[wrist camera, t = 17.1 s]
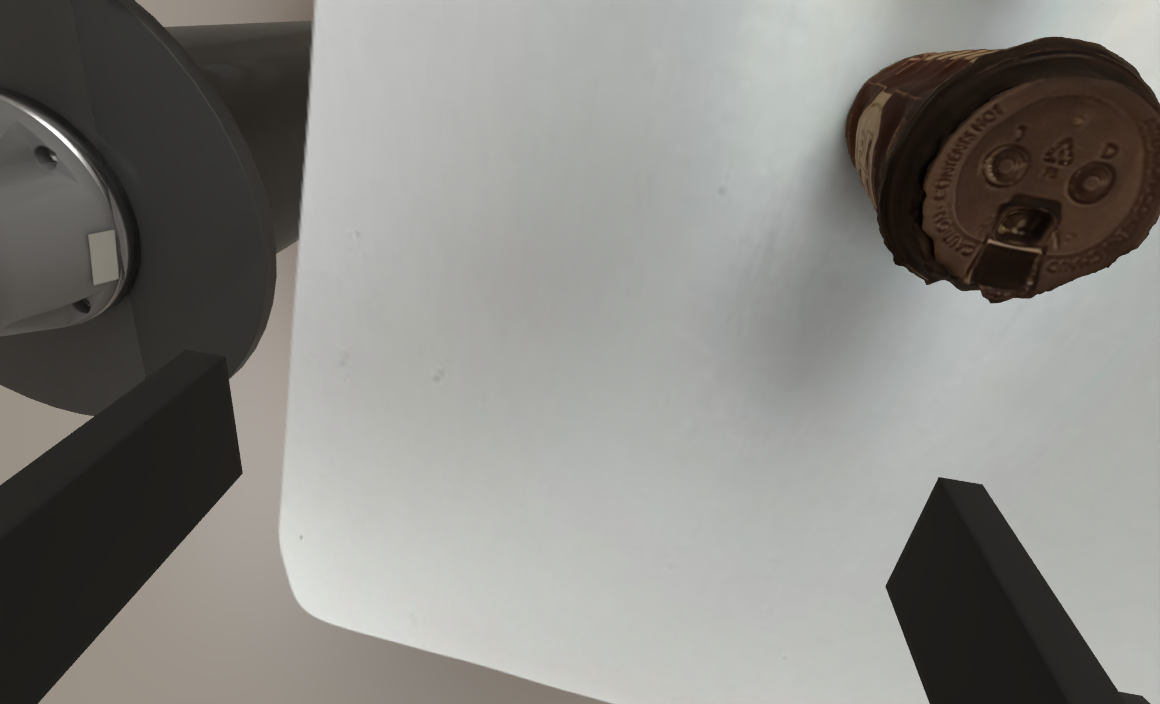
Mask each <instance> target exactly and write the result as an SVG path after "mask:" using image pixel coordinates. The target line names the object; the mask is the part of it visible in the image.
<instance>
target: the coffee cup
mask: <svg viewBox="0 0 1160 704" xmlns="http://www.w3.org/2000/svg"><path fill="white" fill-rule="evenodd" d="M845 137H846V142H847V147H848V151H849V154H850V158H851V161H852V163H853V165H854V166H855V168H856V169H857V172H858V175H859V179H860V181H861V184H862V186H863V187H864V189H865V191H866V192H867V195H868V197H869V198H870V200H871V201H872V203H873V206H874V208H875V210H876V212H877V220H878V224H879V231H880V233H881V235H882V237H883V239H884V244H885V245H886V247H887V248H888V250H889V251H890V252H891V253H892V254H893V261H894V263H895V264H896V265H898V266H904V267H906V268H907V269H908V270H909V272H911V273H914V274H915V275H917V276H918V277H920V278H922V279H924V281H925V283H926V285H930V284H932V283H934V282H937V281H940V280H947V281H949V282H950V283H952V284H953V285H954V286H955V287H956V288H957V289H959V290H961V291H970V290H980V291H981V293H982V296H983V297H984V298H986V299H988V300H989V302H990V303H1001V302H1004V301H1007V300H1009V299H1012V298H1032V297H1034V296H1035V295H1037V294H1042V293H1044V292H1045V291H1047V292H1048V291H1052V290H1053V289H1055V288H1057V287H1059V286H1061V285H1063V284H1066V283H1068V282H1070V281H1073V280H1075V279H1077V278H1079V277H1082V276H1085V275H1089V274H1091V273H1095V272H1097V271H1099V270H1102V269H1104V268H1109V266H1110V265H1111V264H1112V263H1114V262H1115V261H1116V260H1117V258H1119V257H1120V256H1122V255H1125V254H1128V253H1129V252H1130V251H1132V250H1134V249H1136V248H1138V247H1139V246H1140V244H1141V243H1142V242H1143V241H1144V240H1145V239H1146V237H1147V236H1148V235H1149V231H1150V229H1151V228H1152V226H1153V225H1155V224H1156V222H1157V220H1158V218H1159V215H1160V104H1159V102H1158V100H1157V98H1156V96H1155V94H1154V92H1153V91H1152V89H1151V88H1150V87H1149V86H1148V85H1147V84H1146V83H1145V82H1144V80H1143V79H1142V78H1141V76H1140V74H1139V72H1138V71H1137V69H1136V68H1135V67H1134V66H1132V65H1131V64H1130V63H1128V62H1127V61H1126V60H1124V59H1123V58H1121V57H1119V56H1118V55H1117V54H1115V53H1113V52H1111V51H1109V50H1107V49H1106V48H1105V47H1103V46H1102V45H1100V44H1097V43H1092V42H1087V41H1082V40H1079V39H1072V38H1064V37H1044V38H1040V39H1036V40H1034V41H1031V42H1027V43H1024V44H1021V45H1018V46H1014V47H1011V48H1008V49H997V50H986V49H980V50H963V51H950V52H942V53H925V54H921V55H915V56H912V57H908V58H905V59H903V60H901V61H898V62H896V63H894V64H892V65H890V66H888V67H886V68H884V69H883V70H881V71H880V72H879V73H877V74H876V75H874V76H873V77H872V78H870V79H869V80H868V81H867V82H866V83H865V84H864V86H863V87H862V88H861V90H860V91H859V93H858V95H857V97H856V99H855V101H854V103H853V105H852V107H851V109H850V111H849V114H848V117H847V121H846V132H845Z"/></svg>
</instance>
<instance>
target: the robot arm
mask: <svg viewBox="0 0 1160 704" xmlns="http://www.w3.org/2000/svg"><path fill="white" fill-rule="evenodd" d="M139 263H140V238H139V231H138V227H137V222H136V218H135V215H134V212H133V209H132V206H131V204H130V201H129V199H128V197H127V195H126V193H125V191H124V189H123V187H122V185H121V183H120V181H119V179H118V178H117V176H116V174H115V173H114V171H113V170H112V168H111V167H110V165H109V164H108V163H107V161H106V160H105V159H104V157H103V156H102V155H101V154H100V152H99V151H98V150H97V149H96V148H95V147H94V145H93V144H92V143H91V142H90V141H89V140H88V139H87V138H86V137H85V136H84V135H83V134H82V133H81V132H80V131H79V130H78V129H77V128H75V127H74V126H73V125H72V124H71V123H69V122H68V121H67V120H66V119H64V118H63V117H62V116H60V115H59V114H58V113H56V112H55V111H53V110H52V109H50V108H48V107H47V106H45V105H44V104H42V103H40V102H38V101H36V100H34V99H32V98H30V97H28V96H26V95H23V94H21V93H19V92H16V91H13V90H10V89H6V88H2V87H0V337H1V336H8V335H15V334H21V333H28V332H35V331H42V330H49V329H56V328H63V327H67V326H72V325H76V324H80V323H83V322H85V321H88V320H90V319H92V318H94V317H96V316H98V315H100V314H101V313H103V312H105V311H107V310H109V309H110V308H112V307H114V306H115V305H117V304H118V303H119V302H120V301H121V300H122V299H123V298H124V297H125V296H126V295H127V294H128V292H129V291H130V289H131V288H132V285H133V283H134V281H135V279H136V276H137V273H138V268H139ZM241 474H242V466H241V460H240V452H239V446H238V439H237V433H236V425H235V419H234V412H233V406H232V398H231V392H230V385H229V378H228V371H227V364H226V358H225V356H219V355H213V354H207V353H201V352H195V351H189V350H185V351H183V352H182V353H181V354H179V355H178V356H176V357H175V358H174V359H172V360H171V361H170V362H168V363H167V364H166V365H164V366H163V367H161V368H160V369H159V370H157V371H156V372H155V373H153V374H152V375H150V376H149V377H148V378H146V379H145V380H144V381H142V382H141V383H140V384H138V385H137V386H135V387H134V388H133V389H131V390H130V391H129V392H127V393H126V394H125V395H123V396H122V397H120V398H119V399H118V400H116V401H115V402H114V403H112V404H111V405H109V406H108V407H107V408H105V409H104V410H103V411H101V412H100V413H99V414H97V415H96V416H94V417H93V418H92V419H90V420H89V421H88V422H86V423H85V424H84V425H82V426H81V427H79V428H78V429H77V430H75V431H74V432H73V433H71V434H70V435H69V436H67V437H66V438H64V439H63V440H62V441H61V442H59V443H58V444H56V445H55V446H53V447H52V448H51V449H49V450H48V451H47V452H45V453H44V454H43V455H41V456H40V457H38V458H37V459H36V460H35V461H33V462H32V463H30V464H29V465H28V466H26V467H25V468H23V469H22V470H21V471H19V472H18V473H17V474H15V475H14V476H12V477H11V478H10V479H8V480H7V481H6V482H4V483H3V484H2V485H0V704H38V703H39V702H40V700H41V699H42V698H43V697H44V696H45V695H46V694H47V692H48V691H49V690H50V689H51V688H52V687H53V686H54V685H55V684H56V682H57V681H58V680H59V679H60V678H61V677H62V676H63V675H64V673H65V672H66V671H67V670H68V669H69V668H70V667H71V666H72V664H73V663H74V662H75V661H76V660H77V658H79V657H80V655H81V654H82V653H83V652H84V651H85V650H86V649H87V648H88V646H89V645H90V644H91V643H92V642H93V641H94V640H95V638H96V637H97V636H98V635H99V634H100V633H101V632H102V631H103V630H104V628H105V627H106V626H107V625H108V624H109V623H110V622H111V621H112V620H113V618H114V617H115V616H116V615H117V614H118V613H119V612H120V611H121V609H122V608H123V607H124V606H125V605H126V604H127V602H129V600H130V599H131V598H132V597H133V596H134V595H135V594H136V593H137V591H138V590H139V589H140V588H141V587H142V586H143V585H144V583H145V582H146V581H147V580H148V579H149V578H150V577H151V576H152V575H153V573H154V572H155V571H156V570H157V569H158V568H159V567H160V566H161V564H162V563H163V562H164V561H165V560H166V559H167V558H168V557H169V555H170V554H171V553H172V552H173V551H174V550H175V549H176V547H177V546H178V545H179V544H180V543H181V542H182V541H183V540H184V539H185V537H186V536H187V535H188V534H189V533H190V532H191V531H192V530H193V528H194V527H195V526H196V525H197V524H198V523H199V521H201V519H202V518H203V517H204V516H205V515H206V514H207V513H208V512H209V511H210V509H211V508H212V507H213V506H214V505H215V504H216V503H217V502H218V500H219V499H220V498H221V497H222V496H223V495H224V494H225V493H226V491H227V490H228V489H229V488H230V487H231V486H232V485H233V483H234V482H235V481H236V480H237V479H238V478H239V477H240V476H241ZM886 589H887V592H888V594H889V597H890V600H891V602H892V605H893V608H894V610H895V613H896V615H897V618H898V621H899V623H900V626H901V629H902V631H903V634H904V637H905V639H906V642H907V645H908V647H909V650H910V653H911V655H912V658H913V660H914V663H915V666H916V668H917V671H918V674H919V676H920V679H921V682H922V684H923V687H924V690H925V692H926V695H927V698H928V700H929V703H930V704H1150V703H1149V702H1148V701H1147V700H1146V699H1145V698H1144V697H1143V696H1140V695H1134V694H1128V693H1123V692H1118V690H1117V689H1116V687H1115V686H1114V684H1113V683H1112V681H1111V680H1110V678H1109V677H1108V675H1107V674H1106V672H1105V671H1104V669H1103V668H1102V666H1101V665H1100V663H1099V661H1098V660H1097V658H1096V657H1095V655H1094V654H1093V652H1092V651H1091V649H1090V648H1089V646H1088V645H1087V643H1086V642H1085V640H1084V639H1083V637H1082V636H1081V634H1080V633H1079V631H1078V629H1077V628H1076V626H1075V625H1074V623H1073V622H1072V620H1071V619H1070V617H1069V616H1068V614H1067V613H1066V611H1065V610H1064V608H1063V607H1062V605H1061V604H1060V602H1059V601H1058V599H1057V597H1056V596H1055V594H1054V593H1053V591H1052V590H1051V588H1050V587H1049V585H1048V584H1047V582H1046V581H1045V579H1044V578H1043V576H1042V575H1041V573H1040V572H1039V570H1038V569H1037V567H1036V565H1035V564H1034V562H1033V561H1032V559H1031V558H1030V556H1029V555H1028V553H1027V552H1026V550H1025V549H1024V547H1023V546H1022V544H1021V543H1020V541H1019V540H1018V538H1017V537H1016V535H1015V533H1014V532H1013V530H1012V529H1011V527H1010V526H1009V524H1008V523H1007V521H1006V520H1005V518H1004V517H1003V515H1002V514H1001V512H1000V511H999V509H998V508H997V506H996V505H995V503H994V502H993V500H992V498H991V497H990V495H989V494H988V492H987V491H986V489H985V488H984V486H983V485H982V484H976V483H970V482H964V481H958V480H952V479H946V478H940V477H939V478H938V480H937V482H936V484H935V486H934V488H933V490H932V492H931V494H930V496H929V498H928V501H927V503H926V505H925V507H924V509H923V511H922V513H921V515H920V517H919V519H918V521H917V523H916V525H915V527H914V529H913V531H912V533H911V535H910V537H909V539H908V541H907V543H906V545H905V548H904V550H903V552H902V554H901V556H900V558H899V560H898V562H897V564H896V566H895V568H894V570H893V572H892V574H891V576H890V578H889V580H888V582H887V584H886Z"/></svg>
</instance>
